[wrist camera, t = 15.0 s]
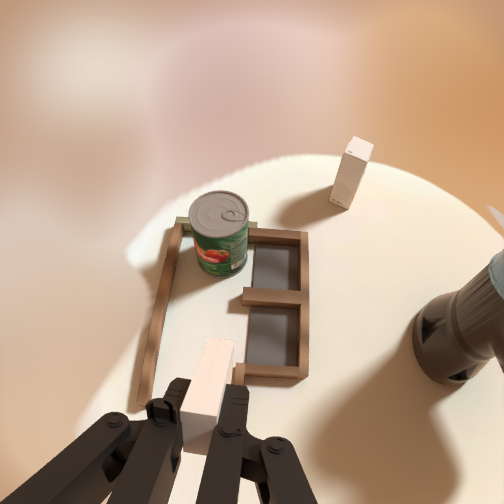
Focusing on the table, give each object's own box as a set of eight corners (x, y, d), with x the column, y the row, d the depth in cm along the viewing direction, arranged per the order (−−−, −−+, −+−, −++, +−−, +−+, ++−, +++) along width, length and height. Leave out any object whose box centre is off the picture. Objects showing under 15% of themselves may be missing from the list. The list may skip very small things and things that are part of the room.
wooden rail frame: (303, 423, 36) (306, 422, 34) (141, 405, 36) (136, 404, 34) (305, 234, 52) (307, 226, 50) (178, 224, 53) (176, 216, 51)
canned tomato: (191, 272, 48) (179, 230, 38) (206, 232, 52) (199, 186, 43) (241, 283, 47) (240, 242, 38) (252, 241, 51) (254, 195, 42)
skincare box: (348, 210, 55) (367, 162, 45) (327, 201, 56) (342, 152, 46) (357, 190, 58) (375, 144, 48) (337, 182, 59) (352, 134, 49)
